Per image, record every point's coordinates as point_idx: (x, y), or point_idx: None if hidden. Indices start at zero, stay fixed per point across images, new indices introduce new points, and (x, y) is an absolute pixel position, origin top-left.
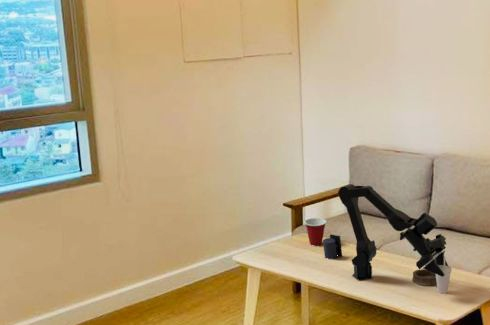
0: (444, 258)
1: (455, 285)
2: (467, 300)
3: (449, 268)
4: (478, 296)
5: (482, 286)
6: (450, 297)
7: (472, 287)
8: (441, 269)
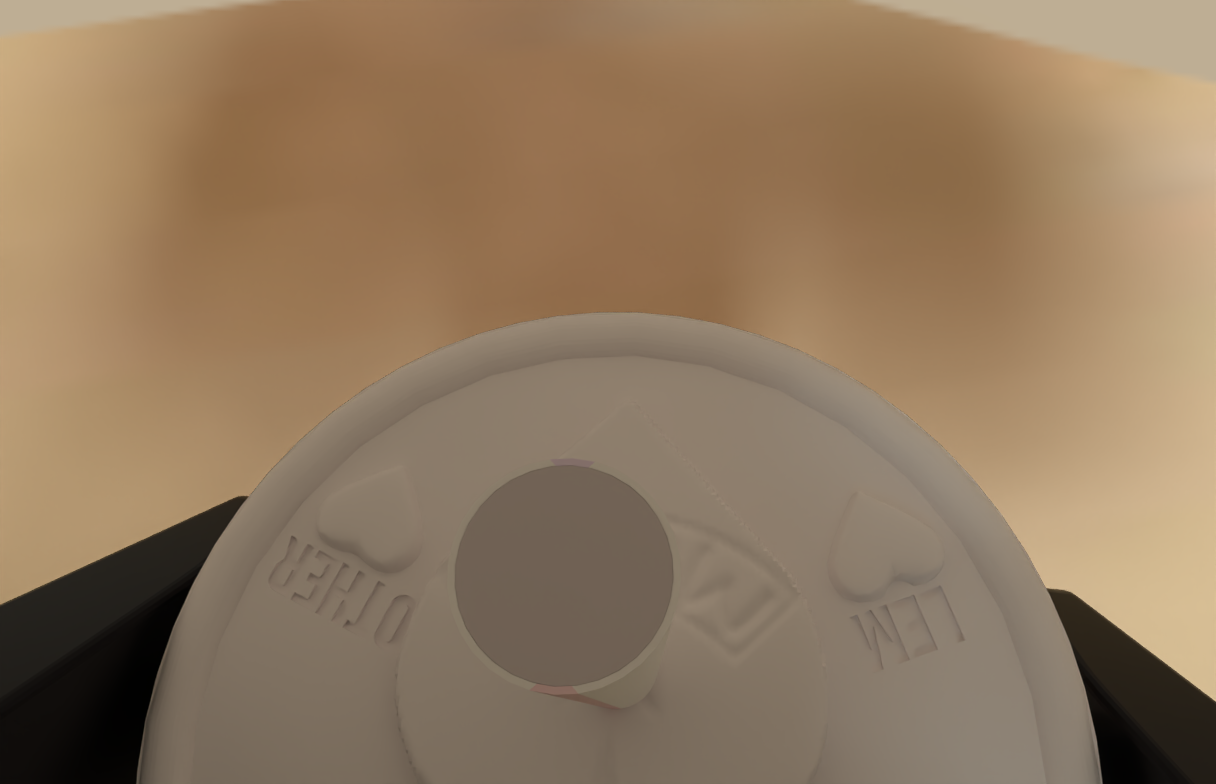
0: (678, 580)
1: (129, 534)
2: (907, 177)
3: (588, 403)
4: (617, 51)
5: (74, 69)
6: None
7: (170, 210)
8: (927, 776)
